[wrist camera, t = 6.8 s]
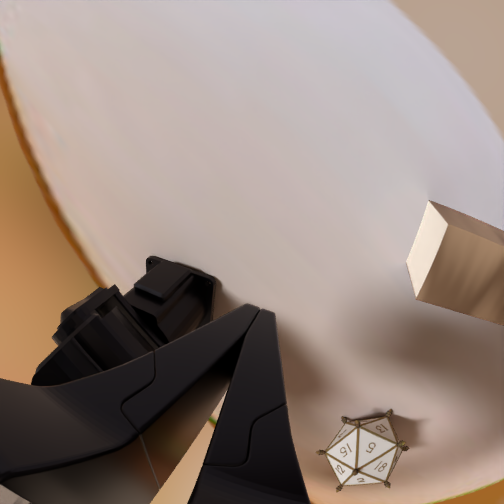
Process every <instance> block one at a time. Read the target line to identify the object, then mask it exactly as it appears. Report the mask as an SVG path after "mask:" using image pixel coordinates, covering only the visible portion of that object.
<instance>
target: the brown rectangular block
mask: <svg viewBox="0 0 504 504" xmlns="http://www.w3.org/2000/svg"><path fill="white" fill-rule="evenodd" d="M406 265H407V268H408V272H409V275H410V279H411V282H412V286H413V290H414V294H415V298H416V300H420V301H423V302H426V303H430V304H433V305H436V306H440V307H443V308H446V309H450V310H453V311H456V312H460V313H463V314H467V315H470V316H473V317H477V318H480V319H483V320H487V321H490V322H493V323H497V324H500V325H503V326H504V231H502V230H500V229H498V228H496V227H494V226H491V225H489V224H487V223H485V222H482V221H480V220H478V219H475V218H473V217H471V216H468V215H466V214H463V213H461V212H459V211H456V210H454V209H451V208H448V207H446V206H443V205H441V204H438V203H435V202H433V201H430V200H429V201H428V204H427V207H426V210H425V213H424V216H423V219H422V222H421V225H420V228H419V230H418V233H417V236H416V238H415V241H414V244H413V246H412V249H411V251H410V254H409V256H408V259H407V261H406Z"/></svg>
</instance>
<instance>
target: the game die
mask: <svg viewBox="0 0 504 504" xmlns="http://www.w3.org/2000/svg"><path fill="white" fill-rule="evenodd" d="M391 414H392V411H391V409H390V410H389V411H387V413H386V416H384V417H378V418H372V419H365V420H356V421H350V422H347V419H346V418H344V417H342V420H341V421H342V422H343V423H344V425H343V427H342V428H341V430H340V431H339V433H338V434H337V435H336V437H335V438H334V440H333V441H332V442H331V444H330V445H329V446H328V448H327V449H326V451H323V450H319V451H317V452H316V453H317V454H319V455H322V454H325V456H326V457H327V459H328V461H329V463H330V465H331V467H332V469H333V471H334V473H335V475H336V477H337V479H338V481H339V482H340V485H339V486H338V487H337V490H336V492H338V491H341V489H342V487H343V486H350V485H365V484H376V483H385V486H386V487H388V488H390V483H389V482H388V481H387V480H388V478H389V476H390V474H391V472H392V471H393V469H394V467H395V465H396V463H397V461H398V459H399V457H400V455H401V452H402V451H407V450H408V449H409V447H408V446H406V447H405V446H404V444H405V443H406V442H404V441H399V439H398V437H397V434H396V432H395V430H394V428H393V426H392V424H391V422H390V420H389V416H391ZM402 446H404V447H402Z"/></svg>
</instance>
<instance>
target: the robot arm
mask: <svg viewBox="0 0 504 504" xmlns="http://www.w3.org/2000/svg"><path fill="white" fill-rule="evenodd" d="M151 261H152V262H153V263H152V262H151ZM207 281H209V282H210V283H211V284H209V283H208V282H207ZM215 286H216V281H215V279H214V278H213V277H212V276H209V275H206V274H204V273H201V272H198V271H195V270H192V269H189V268H187V267H184V266H181V265H178V264H176V263H173V262H170V261H167V260H163V259H160V258H158V257H155V256H149V257H148V258H147V259H146V274H145V275H144V276H143V277H142V278H141V279H139V280H138V281H137V282H136V283H135V284H134V287H133V288H132V289H131V290H130V291H129V292H127V293H126V294H125V295H124V296H123V295H122V294H121V293H120V292H119V289H118V287H117V286H116V285H113V286H112V287H110V288H109V289H107V288H105V289H103V288H100V287H99V288H98V289H96V290H95V291H94V292H93V293H91V294H90V295H89V296H87V297H86V298H85V299H83V300H81V301H79V302H77V303H76V304H74V305H72V306H70V307H68V308H67V309H65V310H64V311H63V312H62V313H61V323H60V325H59V326H58V328H57V329H58V330H57V332H56V333H55V334H54V335H53V336H52V339H53V340H54V341H55V343H56V344H57V345H58V347H57V348H56V349H55V350H54V351H53V352H52V353H51V354H50V355H49V356H48V357H47V358H46V359H45V360H43V361H42V362H41V363H40V364H39V366H38V367H37V369H36V373H35V375H34V376H33V378H32V382H31V385H28V384H23V383H19V382H14V381H10V380H5V379H1V378H0V504H150V503H151V501H152V500H153V498H154V497H155V496H156V494H157V493H158V491H159V489H161V487H162V486H163V485H164V483H165V482H166V480H167V479H168V478H169V476H170V475H171V473H172V472H173V471H174V469H175V467H176V466H177V465H178V463H179V462H180V460H181V459H182V458H183V456H184V455H185V453H186V452H187V450H188V449H189V447H190V446H191V444H192V443H193V441H194V440H195V439H196V437H197V436H198V434H199V433H200V431H201V429H202V428H203V427H204V425H205V423H206V422H207V420H208V419H209V417H210V416H211V414H212V413H213V411H214V410H215V408H216V407H217V405H218V403H219V402H220V400H221V399H222V397H223V396H224V394H225V392H226V391H227V393H226V396H225V399H224V402H223V405H222V408H221V411H220V414H219V417H218V420H217V423H216V426H215V429H214V432H213V435H212V438H211V441H210V444H209V447H208V450H207V453H206V456H205V459H204V462H203V466H202V468H201V470H200V473H199V476H198V479H197V481H196V484H195V487H194V489H193V492H192V494H191V496H190V498H189V501H188V503H187V504H311V503H310V500H309V497H308V494H307V490H306V487H305V483H304V480H303V476H302V473H301V469H300V466H299V462H298V459H297V455H296V452H295V447H294V443H293V439H292V435H291V429H290V423H289V416H288V408H287V405H286V404H287V401H286V393H285V385H284V377H283V369H282V362H281V354H280V346H279V339H278V331H277V324H276V316H275V313H274V312H271V311H268V310H266V309H261V310H260V308H259V307H257V306H254V305H251V304H248V303H247V304H244V305H242V306H240V307H239V308H237V309H235V310H233V311H231V312H229V313H227V314H225V315H223V316H221V317H220V318H218V319H216V320H214V321H212V317H213V306H214V296H215ZM227 389H228V390H227Z"/></svg>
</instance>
